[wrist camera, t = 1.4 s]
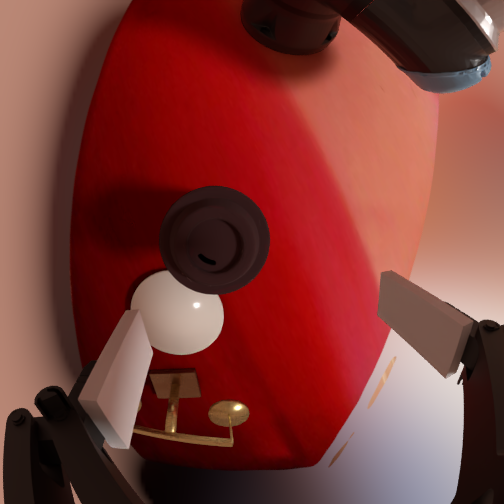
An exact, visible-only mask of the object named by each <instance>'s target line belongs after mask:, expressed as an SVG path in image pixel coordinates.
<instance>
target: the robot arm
mask: <svg viewBox="0 0 504 504" xmlns="http://www.w3.org/2000/svg"><path fill="white" fill-rule="evenodd" d="M372 1H373V0H244V1H243V4H242V9H241V20H242V23H243V25H244V27H245V29H246V30H247V32H248V33H249V34H250V35H251V36H252V37H253V38H254V39H256V40H257V41H258V42H260V43H261V44H263V45H265V46H266V47H268V48H271V49H273V50H276V51H279V52H282V53H286V54H293V55H308V54H313V53H316V52H319V51H321V50H323V49H324V48H326V47H327V46H328V45H329V44H330V43H331V42H332V41H333V40H334V39H335V37H336V35H337V33H338V30H339V26H340V21H341V16H342V17H343V18H344V19H346V20H347V21H348V22H349V23H351V24H352V25H353V26H354V27H356V28H357V29H358V30H359V31H361V32H362V33H363V34H364V35H365V36H366V37H368V38H369V39H370V40H371V41H372V42H373V43H374V44H376V45H377V46H378V47H379V48H380V49H381V50H382V51H383V52H384V53H385V54H386V55H387V56H388V57H389V58H390V59H391V60H392V61H393V62H394V63H395V65H396V66H397V68H398V69H400V70H401V71H403V72H404V73H405V74H406V75H407V76H408V77H409V78H410V79H411V80H412V81H413V82H414V83H415V84H416V85H417V86H419V87H420V88H421V89H423V90H426V91H429V92H433V93H451V92H456V91H460V90H463V89H466V88H469V87H471V86H473V85H475V84H477V83H478V82H480V81H481V80H482V79H481V77H486V76H487V75H488V73H489V72H490V70H491V61H490V57H489V54H491V53H493V52H496V51H497V50H498V37H499V34H500V33H501V32H503V31H504V0H374V1H373V2H372ZM371 2H372V3H371ZM364 8H365V9H364ZM363 9H364V10H363ZM362 10H363V11H362ZM361 11H362V12H361ZM360 12H361V13H360ZM359 13H360V14H359ZM377 315H378V316H379V317H380V318H381V319H382V320H383V321H384V322H385V323H386V324H388V325H389V326H390V327H391V328H392V329H393V330H394V331H395V332H396V333H397V334H399V335H400V336H401V337H402V338H403V339H404V340H405V341H406V342H407V343H408V344H410V345H411V346H412V347H413V348H414V349H415V350H416V351H417V352H418V353H419V354H420V355H421V356H422V357H423V358H424V359H425V360H427V361H428V362H429V363H430V364H431V365H432V366H433V367H434V368H435V369H436V370H437V371H438V372H439V373H440V374H441V375H442V376H443V377H444V378H448V377H449V376H451V375H453V374H454V373H456V372H457V369H458V367H459V364H460V362H462V363H463V364H464V368H463V370H462V372H461V375H460V377H459V380H458V383H457V384H459V383H460V381H461V380H462V379H463V383H462V385H463V391H464V430H463V448H462V458H461V466H460V474H459V480H458V486H457V491H456V495H455V497H454V499H453V501H452V502H451V504H504V325H501V326H500V325H499V324H498V323H497V322H494V321H492V320H482V321H480V322H477V321H476V320H474V319H473V318H471V317H470V316H468V315H466V314H465V313H463V312H461V311H460V310H459V309H457V308H455V307H454V306H452V305H450V304H449V303H447V302H444V301H441V300H440V299H439V298H437V297H435V296H434V295H432V294H430V293H429V292H427V291H425V290H424V289H422V288H420V287H419V286H417V285H415V284H414V283H412V282H410V281H409V280H407V279H405V278H404V277H402V276H400V275H399V274H397V273H395V272H393V271H392V270H391V271H386V272H381V280H380V292H379V303H378V312H377ZM152 355H153V351H152V348H151V345H150V342H149V339H148V336H147V333H146V330H145V327H144V323H143V320H142V317H141V313H140V310H139V309H136V310H126V311H125V313H124V315H123V316H122V318H121V320H120V321H119V323H118V325H117V326H116V328H115V330H114V332H113V333H112V335H111V337H110V339H109V340H108V342H107V344H106V346H105V348H104V349H103V351H102V353H101V355H100V357H99V359H98V360H97V361H91V362H89V363H88V364H87V365H86V366H85V367H84V368H83V370H82V372H81V374H80V377H78V379H77V381H76V383H75V384H74V386H73V388H72V390H71V392H70V394H69V396H68V397H67V395H66V394H65V392H64V391H63V389H62V388H61V387H58V386H49V387H46V388H44V389H42V390H41V391H40V392H39V393H38V394H37V396H36V397H35V403H34V404H35V405H36V407H37V408H38V410H39V411H40V412H41V414H42V415H43V417H33V416H32V415H31V413H30V412H29V411H28V410H27V409H25V408H19V409H16V410H14V411H13V412H11V414H10V415H9V416H8V418H7V422H6V431H5V441H4V456H3V489H4V504H75V502H74V498H73V494H72V490H71V485H70V482H71V484H72V486H73V488H74V490H75V492H76V494H77V496H78V498H79V500H80V502H81V503H82V504H145V503H144V502H143V501H142V500H141V499H140V497H139V496H138V495H137V494H136V492H135V491H134V490H133V489H132V487H131V486H130V485H129V483H128V482H127V481H126V479H125V478H124V477H123V475H122V474H121V472H120V471H119V470H118V468H117V467H116V465H115V464H114V462H113V461H112V459H111V458H110V456H109V455H108V453H107V452H106V450H105V449H104V448H103V443H104V440H106V441H107V442H108V444H109V445H110V446H111V447H113V448H122V449H129V445H130V440H131V436H132V431H133V427H134V423H135V419H136V414H137V410H138V406H139V402H140V398H141V395H142V391H143V387H144V383H145V380H146V376H147V372H148V369H149V365H150V362H151V358H152Z"/></svg>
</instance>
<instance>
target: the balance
mask: <svg viewBox="0 0 504 504" xmlns="http://www.w3.org/2000/svg"><path fill="white" fill-rule="evenodd" d="M149 375H150V378H151V381H152V383H153V386H154V389H155V391H156V394H157V397H158V398H169V403H168V410H167V418H166V426H165V431H161V430H156V429H151V428H146V427H141V426H137V425H134V427H133V431H132V432H135V433H139V434H144V435H148V436H153V437H158V438H163V439H169V440H175V441H181V442H188V443H195V444H204V445H214V446H226V447H232V446H233V435H232V427H231V426H236V425H239V424H241V423H243V422H244V421H246V420H247V418H248V416H249V410H248V407H247V406H246V405H245V404H244V403H243V402H240V401H238V400H230V399H229V400H222V401H218V402H216V403H214V404H213V405H212V406H211V407H210V409H209V418H210V419H211V421H212V422H214V423H215V424H217V425H220V426H229V428H230V437H231V439H225V438H213V437H202V436H194V435H186V434H179V433H176V424H177V412H178V402H179V398H189V397H201V390H200V386H199V382H198V378H197V374H196V370H195V368H190V369H170V370H150V373H149ZM141 405H142V402H141V399H140V402H139V406H138V410H137V412H138V411H139V410H140V409H141Z"/></svg>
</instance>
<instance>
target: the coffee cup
mask: <svg viewBox="0 0 504 504" xmlns="http://www.w3.org/2000/svg"><path fill="white" fill-rule="evenodd" d="M159 246H160V252H161V256H162V259H163V262H164V264H165V266H166V268H167V269H168V271H169V272H170V274H171V275H172V276H173V277H174V278H175V279H176V280H177V281H178V282H179V283H181V284H182V285H184V286H185V287H187V288H189V289H191V290H193V291H195V292H199V293H203V294H210V295H219V294H226V293H230V292H233V291H236V290H238V289H240V288H242V287H244V286H245V285H247V284H248V283H249V282H251V281H252V280H253V279H254V278H255V277H256V276H257V275H258V273H259V272H260V271H261V269H262V267H263V265H264V264H265V262H266V259H267V256H268V252H269V246H270V233H269V228H268V224H267V221H266V219H265V217H264V215H263V213H262V211H261V210H260V208H259V207H258V206H257V205H256V204H255V203H254V202H253V201H252V200H251V199H250V198H249V197H247V196H246V195H244V194H243V193H241V192H239V191H237V190H234V189H231V188H228V187H223V186H206V187H202V188H198V189H195V190H193V191H190V192H189V193H187V194H185V195H183V196H182V197H181V198H179V199H178V200H177V201H176V202H175V203H174V204H173V205H172V206H171V208H170V209H169V211H168V212H167V214H166V216H165V217H164V219H163V222H162V225H161V229H160V234H159Z"/></svg>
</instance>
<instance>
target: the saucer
mask: <svg viewBox="0 0 504 504" xmlns="http://www.w3.org/2000/svg"><path fill="white" fill-rule="evenodd" d="M136 309H139V310H140V313H141V317H142V320H143V323H144V327H145V330H146V333H147V336H148V339H149V342H150V345H152V346H153V347H155V348H157V349H159V350H161V351H163V352H167V353H171V354H178V355H185V354H192V353H196V352H198V351H201V350H203V349H205V348H206V347H208V346H209V345H210V344H212V343H213V342H214V341H215V339H216V338H217V337H218V335H219V333H220V331H221V329H222V325H223V319H224V315H223V306H222V303H221V300H220V298H219V296H218V295H210V294H203V293H199V292H195V291H193V290H191V289H189V288H187V287H185V286H184V285H182V284H181V283H179V282H178V281H177V280H176V279H175V278H174V277H173V276H172V275H171V274H170V272H169V271H168V270H163V271H159V272H156V273H154V274H152V275H150V276H149V277H147V278H146V279H145V280H144V281H142V282H141V284H140V285H139V286H138V288H137V289H136V291H135V293H134V295H133V297H132V301H131V310H136Z"/></svg>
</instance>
